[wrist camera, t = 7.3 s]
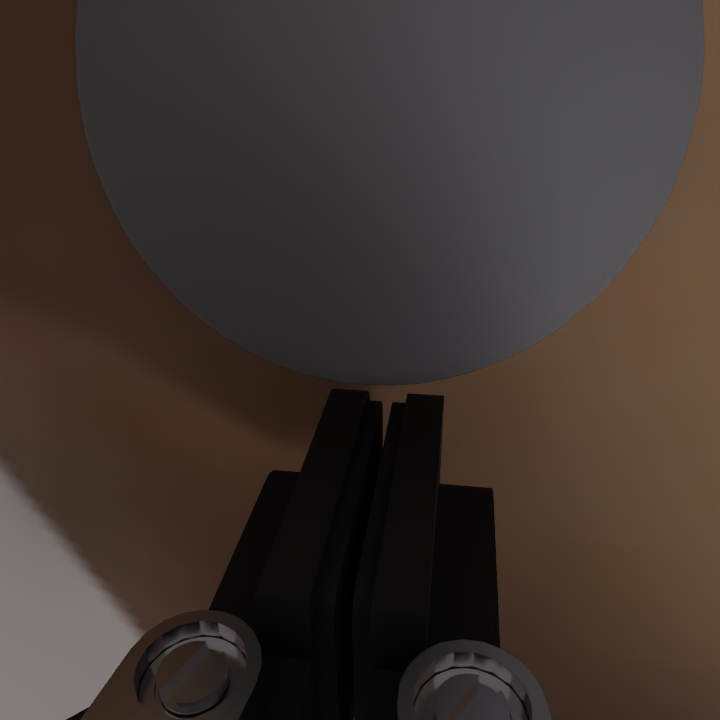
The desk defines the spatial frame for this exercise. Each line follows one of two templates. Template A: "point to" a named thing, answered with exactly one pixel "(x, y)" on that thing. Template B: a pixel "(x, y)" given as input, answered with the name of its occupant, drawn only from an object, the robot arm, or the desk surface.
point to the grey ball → (387, 165)
